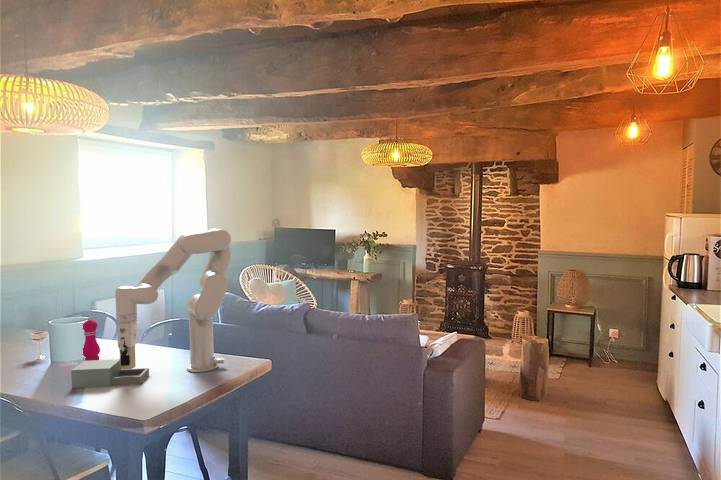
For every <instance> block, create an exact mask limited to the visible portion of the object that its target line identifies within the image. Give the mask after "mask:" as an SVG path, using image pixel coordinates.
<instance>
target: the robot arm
mask: <svg viewBox="0 0 721 480" xmlns="http://www.w3.org/2000/svg"><path fill="white" fill-rule="evenodd" d="M231 237H232V236H231V235H230V233H229V231H227V230H224V229H223V228H222V229H221V228H211V229H209V230H207V231H203V232H185V233H183V234H181V235H180V236H179V237H178V238H177V239H176V241H174V243H173V244H172V245H171V247H170V248H169V249H168V250H167V252H166V253H165V254H164V255H163V256H162V257H161V259H159V261H157V263H156V264H155V265H154V266H153V267H152V268H151V269H149V271H148V272H147V273H146V274H145V275H144V277H143V278H142V279H141V280H140V281H139V283H138V284H137V285H136V287H135V286H133V285H123V286H118V287H117V288H116V289H115V292H114V293H115V319H116V320H115V322H116V324H117V347H118V350H119V357H120V356H121V366H126V365H130V355H128V354H129V348H131V347H133V346H134V345H135V346H136V345H137V344H138V343H139V330H138V323H137V322H138V305H151V304H153V303H155V302H156V301H157V300H158V298H159V292H158V289H159V288H160V287H161V286H162V285H163V283H164V282H166V281H167V280H168V279H169V278H171V277H172V276H175V275H176V274H178V273H179V272H180V271H181V269H182V268H183V267H184V266H185V264H186V263H187V262H188V261H189V259H190V258H191V257H192V256H193V255H199V254H206V253H209V257H208V260H207V263H206V266H205V268H204V270H203V272H202V275H201V277H200V279H199V287H200V288H201V292H200V293H196V294H194V295H193V296H191V297H190V299H189V300H188V301H187V314H188V315H187V316H188V317H187V318H188V324H189V325H188V326H189V327H188V328H189V352H190V353H189V355H190V358H189V360H190V361H189V362H190V363H189V364H188V365H187V366H186V370H187V371H188V372H191V373H205V372H211V371H212V370H215V369H217V368H218V367H219V365H218V364H222V365H223V364H225V358H223V357H216V354H214V353H215V351H214V321H213V318H215V316H217V314H218V311H220V308H221V305H222V302H223V300H224V298H225V296H226V293H227V290H228V287H229V286H228V285H229V282H228V279H227V277H226V276H225V275H226V273H227V270H228V267H229V265H230V261H231V248H230V245H231V242H232V238H231ZM124 346H127V347H124ZM124 349H127V350H124Z"/></svg>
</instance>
